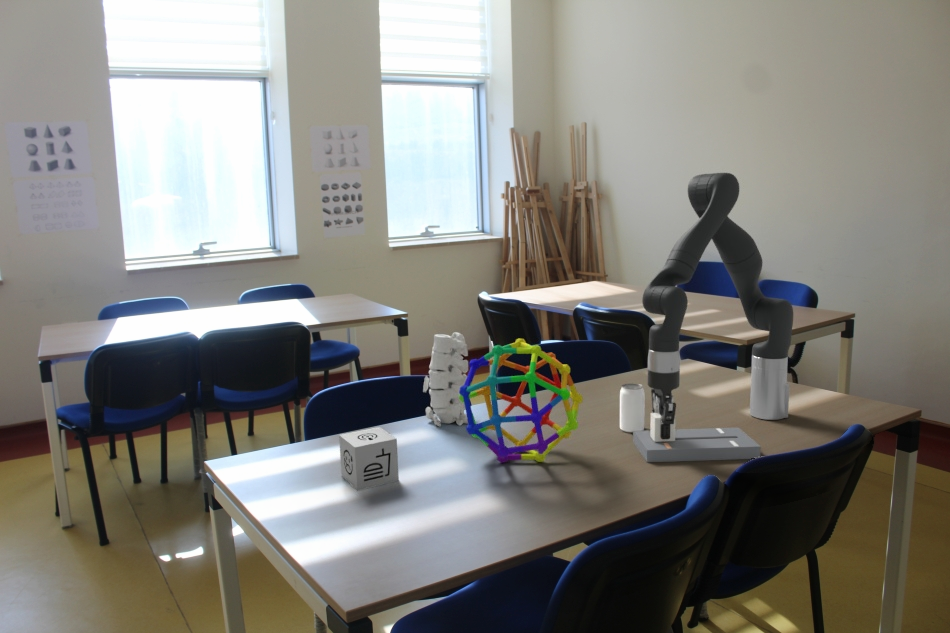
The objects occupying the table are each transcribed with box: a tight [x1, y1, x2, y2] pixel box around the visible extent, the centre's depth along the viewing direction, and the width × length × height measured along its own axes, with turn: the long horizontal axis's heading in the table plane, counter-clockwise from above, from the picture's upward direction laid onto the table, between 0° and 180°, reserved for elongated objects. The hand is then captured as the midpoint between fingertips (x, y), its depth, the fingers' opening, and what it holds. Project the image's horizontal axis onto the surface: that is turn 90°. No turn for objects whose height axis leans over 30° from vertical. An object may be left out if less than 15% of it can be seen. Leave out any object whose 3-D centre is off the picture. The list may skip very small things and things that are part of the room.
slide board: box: [632, 427, 762, 463], centre depth 179 cm, size 27×14×3 cm, turn 91°
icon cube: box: [338, 426, 400, 491], centre depth 167 cm, size 10×10×10 cm
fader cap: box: [649, 412, 677, 442], centre depth 178 cm, size 5×4×6 cm
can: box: [619, 382, 646, 434], centre depth 195 cm, size 6×6×12 cm
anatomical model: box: [422, 331, 469, 427], centre depth 205 cm, size 11×12×25 cm
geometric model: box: [459, 338, 584, 464], centre depth 174 cm, size 30×30×30 cm
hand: (662, 435), depth 179 cm, fingers closed on fader cap, 4 cm apart
